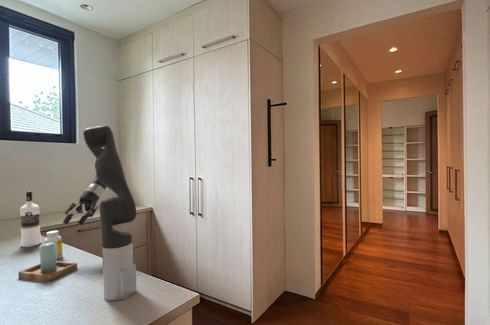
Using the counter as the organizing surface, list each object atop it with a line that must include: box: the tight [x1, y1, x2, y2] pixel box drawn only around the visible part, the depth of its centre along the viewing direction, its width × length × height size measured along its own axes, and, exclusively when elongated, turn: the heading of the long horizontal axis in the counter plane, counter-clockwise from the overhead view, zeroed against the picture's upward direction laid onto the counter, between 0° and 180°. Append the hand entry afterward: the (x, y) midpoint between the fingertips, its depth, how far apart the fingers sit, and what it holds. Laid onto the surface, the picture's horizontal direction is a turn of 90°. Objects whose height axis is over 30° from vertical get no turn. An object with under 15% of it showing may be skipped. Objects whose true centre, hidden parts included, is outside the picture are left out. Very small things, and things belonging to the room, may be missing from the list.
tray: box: [18, 260, 78, 283], centre depth 106 cm, size 16×12×2 cm
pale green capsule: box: [39, 242, 57, 274], centre depth 106 cm, size 5×5×11 cm
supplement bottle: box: [43, 230, 63, 261], centre depth 122 cm, size 7×7×13 cm
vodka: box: [19, 190, 43, 248], centre depth 143 cm, size 9×9×30 cm
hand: (72, 223), depth 116 cm, fingers open, 8 cm apart
